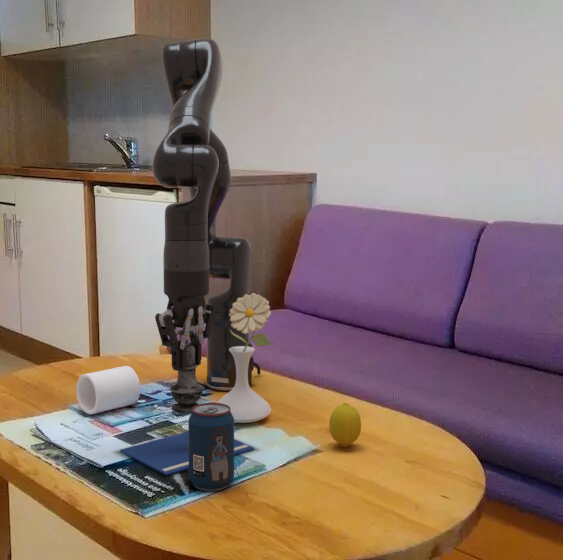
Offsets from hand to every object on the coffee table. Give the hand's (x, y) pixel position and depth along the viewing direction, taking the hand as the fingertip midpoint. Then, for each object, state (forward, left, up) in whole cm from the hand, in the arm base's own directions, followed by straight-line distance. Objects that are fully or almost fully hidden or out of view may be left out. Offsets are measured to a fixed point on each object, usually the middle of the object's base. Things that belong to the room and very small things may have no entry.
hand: (186, 367), depth 130 cm
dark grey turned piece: (0, 0, -7) cm, 7 cm away
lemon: (-24, +13, -15) cm, 31 cm away
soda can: (+3, +15, -15) cm, 21 cm away
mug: (+3, -31, -15) cm, 34 cm away
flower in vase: (-17, -9, -15) cm, 24 cm away
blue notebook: (0, 0, -15) cm, 15 cm away
